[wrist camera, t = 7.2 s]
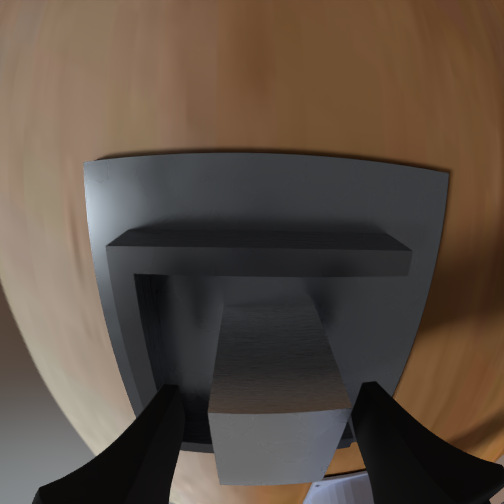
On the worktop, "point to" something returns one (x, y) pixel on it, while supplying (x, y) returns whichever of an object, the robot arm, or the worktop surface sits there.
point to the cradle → (259, 262)
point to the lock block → (275, 397)
